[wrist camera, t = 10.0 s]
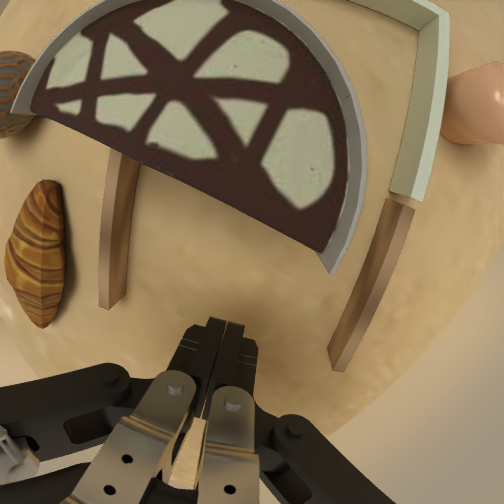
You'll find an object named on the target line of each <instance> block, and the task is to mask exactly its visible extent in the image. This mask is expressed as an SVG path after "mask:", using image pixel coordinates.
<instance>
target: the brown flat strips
mask: <svg viewBox="0 0 504 504" xmlns="http://www.w3.org/2000/svg"><path fill="white" fill-rule="evenodd" d="M139 166H140V163H139V162H137V161H135V160H133V159H131V158H129V157H128V156H126V155H124V154H122V153H120V152H118V151H116V150H114V149H112V148H111V151H110V156H109V162H108V168H107V175H106V182H105V189H104V198H103V207H102V217H101V230H100V246H99V307H101V308H104V309H106V310H110V309H111V308H112V307H113V306H114V305H115V304H116V303H117V302H118V301H119V300H120V299H121V298H122V297H123V296H124V295H125V290H126V271H127V257H128V246H129V235H130V226H131V218H132V210H133V203H134V196H135V189H136V183H137V177H138V172H139ZM414 212H415V209H413V208H410V207H408V206H405V205H403V204H400V203H398V202H395V201H392V200H390V199H387V198H386V201H385V204H384V208H383V211H382V214H381V217H380V220H379V223H378V226H377V229H376V232H375V235H374V238H373V240H372V243H371V246H370V249H369V252H368V254H367V257H366V260H365V262H364V265H363V268H362V270H361V273H360V275H359V278H358V280H357V283H356V285H355V288H354V290H353V292H352V295H351V297H350V300H349V302H348V304H347V306H346V309H345V311H344V313H343V316H342V318H341V320H340V322H339V324H338V327H337V329H336V331H335V333H334V335H333V337H332V339H331V341H330V343H329V346H328V348H327V349H328V354H329V358H330V362H331V366H332V371H337V372H344V371H345V369H346V367H347V365H348V364H349V362H350V360H351V358H352V356H353V355H354V353H355V351H356V349H357V347H358V345H359V343H360V341H361V340H362V338H363V336H364V334H365V332H366V330H367V328H368V326H369V324H370V322H371V320H372V318H373V316H374V313H375V311H376V309H377V307H378V305H379V303H380V301H381V298H382V296H383V294H384V292H385V289H386V287H387V285H388V282H389V280H390V278H391V275H392V273H393V270H394V268H395V265H396V263H397V260H398V258H399V255H400V253H401V250H402V247H403V245H404V242H405V239H406V236H407V233H408V231H409V228H410V225H411V222H412V219H413V216H414Z"/></svg>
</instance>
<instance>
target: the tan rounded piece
mask: <svg viewBox="0 0 504 504" xmlns="http://www.w3.org/2000/svg"><path fill="white" fill-rule="evenodd" d="M440 134H441V135H442V136H443V137H444V138H446V139H447V140H449V141H451V142H453V143H457V144H504V63H501V62H492V63H489V64H486V65H483V66H480V67H477V68H475V69H472V70H469V71H466V72H464V73H461V74H458V75H456V76H453V77H450V78H448V79H447V87H446V95H445V102H444V109H443V116H442V122H441V127H440Z"/></svg>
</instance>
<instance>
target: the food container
mask: <svg viewBox="0 0 504 504" xmlns="http://www.w3.org/2000/svg"><path fill="white" fill-rule="evenodd" d="M10 113H16V114H29V115H39V116H40V117H45V118H48V119H51V120H54V121H56V122H58V123H60V124H63V125H65V126H67V127H69V128H71V129H73V130H76V131H78V132H80V133H82V134H84V135H86V136H88V137H90V138H93V139H95V140H97V141H99V142H101V143H103V144H104V145H106V146H108V147H110V148H112V149H114V150H116V151H118V152H120V153H122V154H124V155H126V156H128V157H129V158H131V159H133V160H135V161H137V162H139V163H142V164H144V165H146V166H148V167H151V168H153V169H155V170H157V171H160V172H162V173H164V174H166V175H168V176H171V177H173V178H175V179H177V180H179V181H181V182H183V183H186V184H188V185H190V186H192V187H194V188H196V189H198V190H200V191H202V192H204V193H206V194H208V195H210V196H212V197H214V198H216V199H218V200H220V201H222V202H224V203H226V204H228V205H230V206H232V207H234V208H235V209H237V210H239V211H241V212H243V213H245V214H247V215H249V216H251V217H253V218H255V219H256V220H258V221H260V222H262V223H264V224H266V225H268V226H270V227H272V228H273V229H275V230H277V231H279V232H281V233H283V234H285V235H286V236H288V237H290V238H292V239H294V240H296V241H298V242H300V243H301V244H303V245H305V246H307V247H309V248H311V249H313V250H314V251H315V252H316V253H317V255H318V257H319V258H320V260H321V261H322V263H323V265H324V266H325V268H326V270H327V271H328V273H329V274H330V275H331V276H333V274H334V272H335V271H336V269H337V267H338V265H339V264H340V262H341V260H342V258H343V256H344V254H345V252H346V251H347V249H348V247H349V245H350V243H351V241H352V238H353V235H354V232H355V229H356V226H357V223H358V220H359V217H360V214H361V211H362V208H363V201H364V195H365V188H366V181H367V173H368V160H367V138H366V130H365V126H364V121H363V117H362V113H361V109H360V105H359V101H358V98H357V95H356V93H355V91H354V88H353V86H352V84H351V82H350V80H349V77H348V75H347V73H346V71H345V69H344V67H343V65H342V64H341V62H340V61H339V59H338V58H337V56H336V55H335V54H334V52H333V51H332V50H331V48H330V47H329V45H328V44H327V43H326V41H325V40H324V39H323V38H322V37H321V36H320V35H319V33H318V32H317V31H316V30H315V29H314V28H313V27H312V26H311V25H309V24H308V23H307V22H306V21H305V20H304V19H303V18H302V17H300V16H299V15H298V14H297V13H296V12H295V11H293V10H292V9H291V8H289V7H288V6H286V5H285V4H283V3H281V2H279V1H278V0H102V1H100V2H98V3H96V4H95V5H93V6H91V7H90V8H88V9H87V10H85V11H84V12H83V13H81V14H80V15H79V16H77V17H76V18H75V19H74V20H72V21H71V22H70V23H69V24H68V25H66V26H65V27H64V28H63V29H62V30H61V31H60V32H59V33H58V34H57V35H56V36H55V37H54V39H53V40H52V41H51V42H50V43H49V44H48V45H47V46H46V48H45V49H44V50H43V52H42V53H41V54H40V56H39V57H38V58H37V60H36V61H35V63H34V64H33V65H32V67H31V69H30V70H29V72H28V74H27V76H26V78H25V79H24V81H23V83H22V85H21V87H20V89H19V91H18V94H17V96H16V99H15V101H14V104H13V106H12V109H11V112H10Z"/></svg>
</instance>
